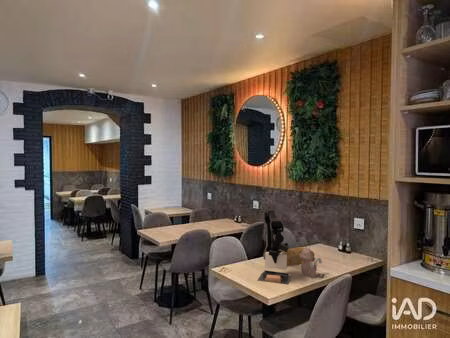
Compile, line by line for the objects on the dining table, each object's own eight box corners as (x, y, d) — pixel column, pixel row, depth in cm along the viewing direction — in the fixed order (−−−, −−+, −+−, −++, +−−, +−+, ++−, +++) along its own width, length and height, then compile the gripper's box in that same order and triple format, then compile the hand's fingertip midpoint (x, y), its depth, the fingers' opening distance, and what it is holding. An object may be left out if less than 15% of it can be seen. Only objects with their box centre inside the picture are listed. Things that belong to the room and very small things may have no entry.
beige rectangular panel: (265, 266, 211) (265, 251, 210) (286, 269, 206) (286, 254, 206) (265, 267, 209) (265, 252, 209) (286, 270, 204) (286, 254, 204)
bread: (307, 256, 257) (307, 244, 257) (317, 260, 248) (317, 247, 247) (273, 263, 238) (273, 250, 238) (283, 267, 229) (283, 254, 229)
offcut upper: (266, 276, 203) (266, 274, 203) (280, 277, 202) (280, 275, 202) (266, 279, 198) (266, 277, 198) (280, 280, 197) (280, 278, 197)
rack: (262, 273, 216) (262, 268, 216) (291, 277, 209) (291, 272, 209) (257, 282, 201) (257, 276, 200) (288, 286, 194) (288, 280, 194)
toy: (296, 275, 214) (296, 246, 213) (316, 271, 222) (316, 243, 221) (305, 279, 206) (305, 249, 205) (325, 275, 214) (326, 246, 213)
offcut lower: (266, 278, 205) (266, 276, 204) (281, 280, 201) (282, 278, 201) (264, 281, 199) (264, 279, 199) (280, 283, 196) (280, 281, 196)
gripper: (286, 243, 196) (286, 268, 196) (290, 237, 213) (289, 260, 214) (268, 242, 199) (268, 266, 200) (273, 236, 217) (273, 258, 217)
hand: (275, 262), depth 207 cm, fingers closed on beige rectangular panel, 2 cm apart
